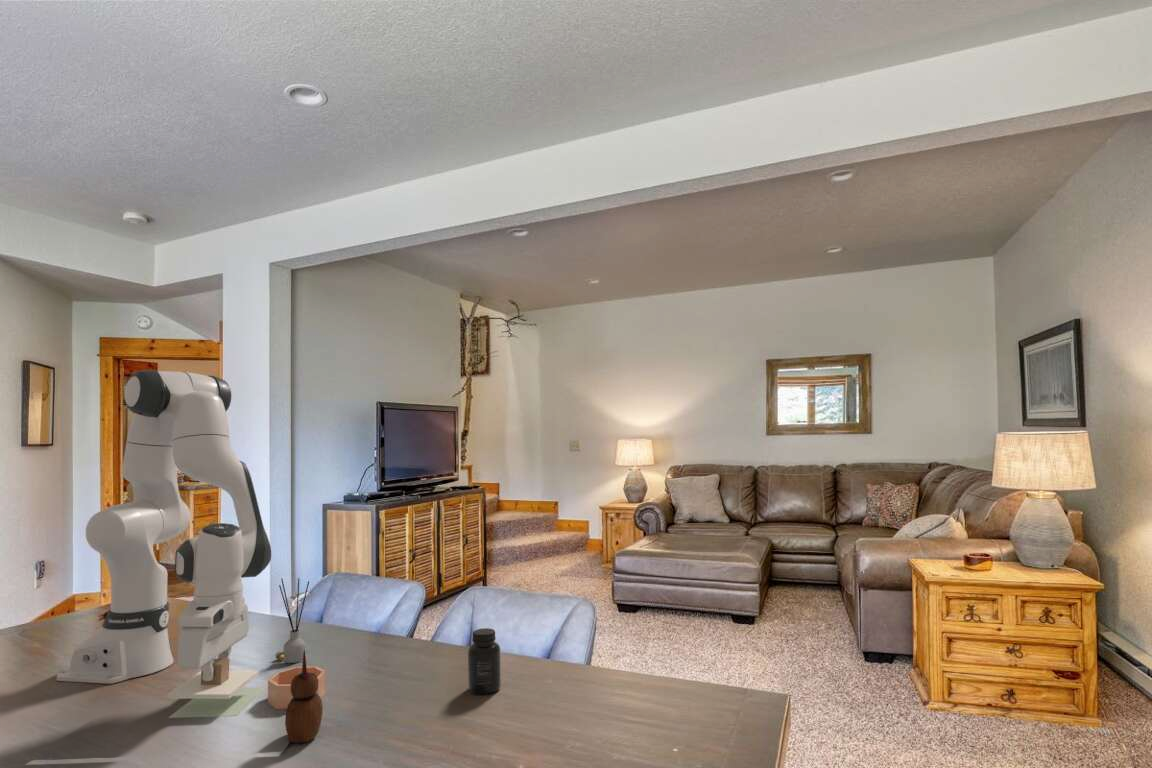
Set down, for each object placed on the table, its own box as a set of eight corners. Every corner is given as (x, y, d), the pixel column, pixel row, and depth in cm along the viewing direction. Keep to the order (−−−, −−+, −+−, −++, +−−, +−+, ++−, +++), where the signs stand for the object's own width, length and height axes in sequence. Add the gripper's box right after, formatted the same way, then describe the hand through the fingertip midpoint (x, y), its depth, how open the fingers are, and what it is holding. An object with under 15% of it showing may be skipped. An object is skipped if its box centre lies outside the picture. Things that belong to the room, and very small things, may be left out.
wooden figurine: (293, 730, 119) (295, 647, 120) (326, 728, 120) (326, 646, 121) (280, 748, 112) (281, 660, 113) (314, 747, 113) (315, 659, 114)
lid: (166, 698, 124) (167, 673, 125) (201, 674, 136) (202, 650, 137) (229, 698, 125) (230, 673, 125) (258, 674, 137) (259, 651, 137)
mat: (168, 720, 124) (168, 717, 124) (204, 692, 137) (204, 689, 137) (237, 718, 124) (237, 715, 124) (266, 690, 137) (266, 687, 137)
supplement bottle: (506, 685, 138) (506, 628, 139) (489, 698, 132) (489, 638, 133) (479, 680, 141) (479, 624, 142) (461, 692, 135) (461, 634, 136)
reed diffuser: (316, 661, 154) (317, 576, 155) (294, 672, 148) (295, 583, 149) (283, 656, 158) (284, 573, 159) (260, 666, 151) (262, 580, 152)
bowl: (261, 712, 127) (261, 686, 127) (282, 691, 137) (282, 667, 137) (312, 710, 127) (313, 684, 128) (330, 689, 137) (330, 665, 138)
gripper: (229, 592, 142) (226, 656, 141) (172, 620, 121) (168, 696, 120) (257, 592, 142) (255, 656, 141) (205, 621, 121) (202, 696, 121)
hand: (215, 675), depth 131 cm, fingers closed on lid, 3 cm apart
